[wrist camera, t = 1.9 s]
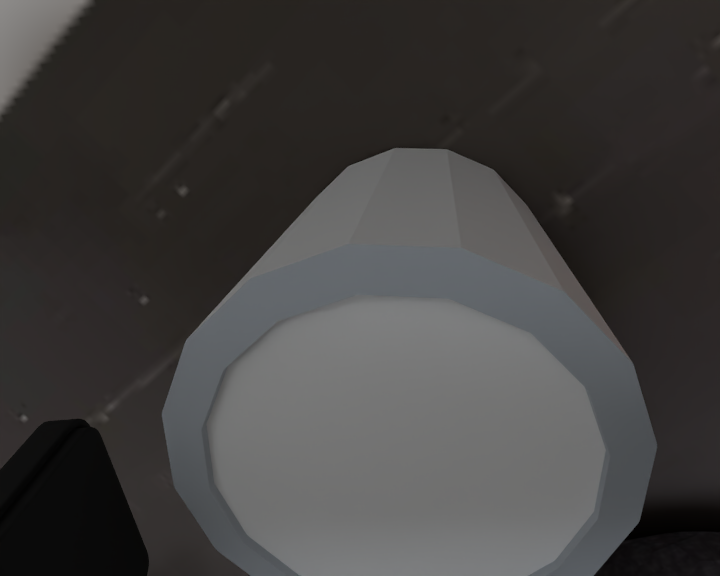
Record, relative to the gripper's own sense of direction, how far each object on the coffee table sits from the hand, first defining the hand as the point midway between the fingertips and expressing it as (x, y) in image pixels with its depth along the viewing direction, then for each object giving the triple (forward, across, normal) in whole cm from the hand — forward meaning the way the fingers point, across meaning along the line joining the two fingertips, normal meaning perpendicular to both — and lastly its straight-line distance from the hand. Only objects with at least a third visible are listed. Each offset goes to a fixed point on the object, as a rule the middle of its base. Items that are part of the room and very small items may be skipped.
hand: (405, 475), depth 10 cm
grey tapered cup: (+7, 0, 0) cm, 7 cm away
